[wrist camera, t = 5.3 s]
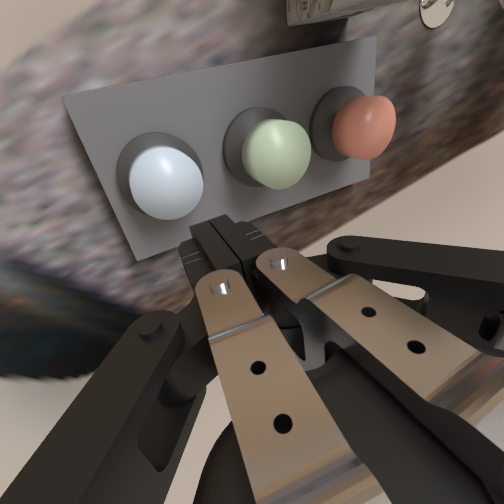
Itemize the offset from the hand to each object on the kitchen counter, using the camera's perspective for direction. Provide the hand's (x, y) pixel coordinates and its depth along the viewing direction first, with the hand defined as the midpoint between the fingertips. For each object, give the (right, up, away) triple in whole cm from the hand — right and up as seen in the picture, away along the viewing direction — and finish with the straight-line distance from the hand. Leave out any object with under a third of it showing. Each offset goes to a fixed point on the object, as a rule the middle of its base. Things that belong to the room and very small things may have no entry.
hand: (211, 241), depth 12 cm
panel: (+1, +9, +13) cm, 16 cm away
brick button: (+10, +10, +12) cm, 19 cm away
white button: (-5, +5, +9) cm, 11 cm away
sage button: (+3, +7, +10) cm, 13 cm away
